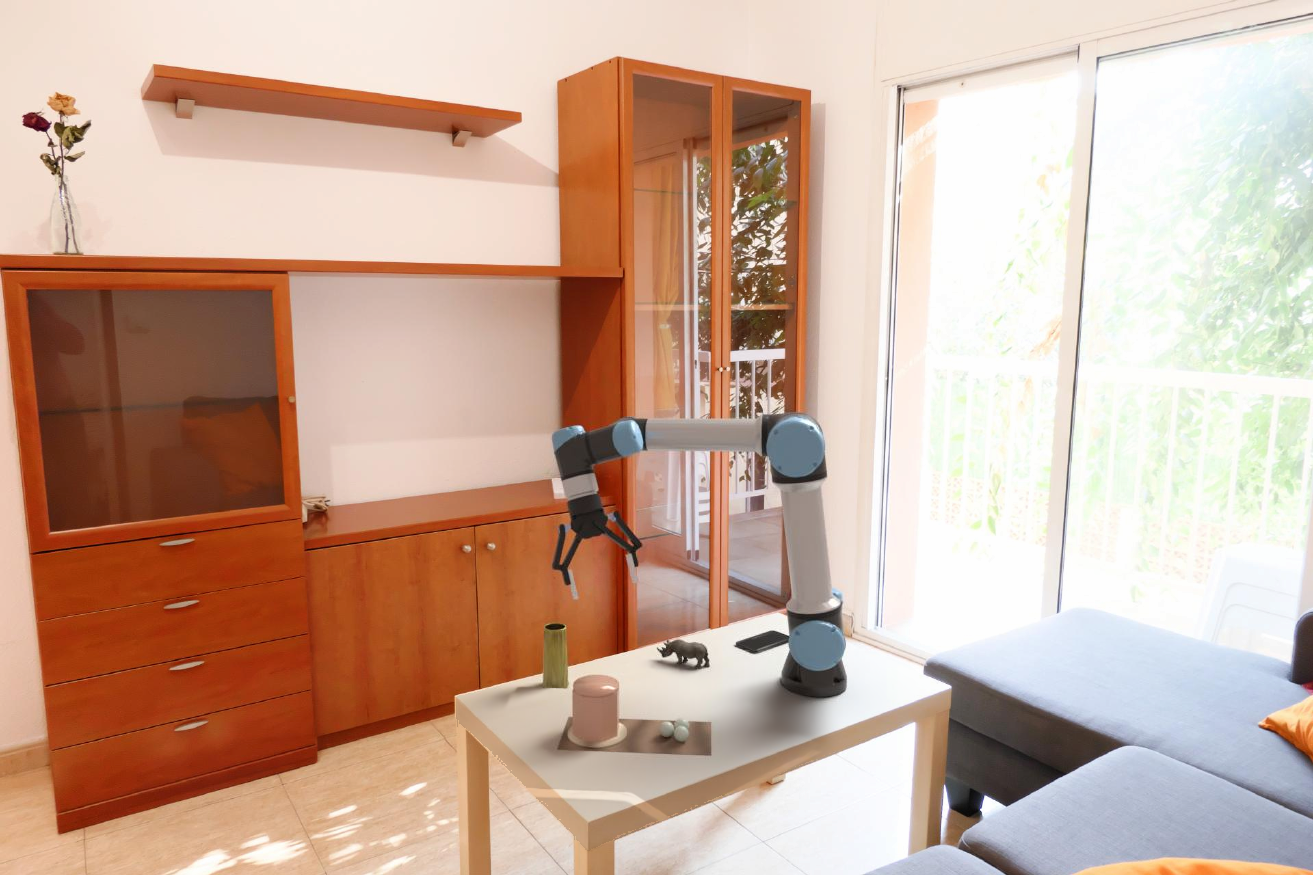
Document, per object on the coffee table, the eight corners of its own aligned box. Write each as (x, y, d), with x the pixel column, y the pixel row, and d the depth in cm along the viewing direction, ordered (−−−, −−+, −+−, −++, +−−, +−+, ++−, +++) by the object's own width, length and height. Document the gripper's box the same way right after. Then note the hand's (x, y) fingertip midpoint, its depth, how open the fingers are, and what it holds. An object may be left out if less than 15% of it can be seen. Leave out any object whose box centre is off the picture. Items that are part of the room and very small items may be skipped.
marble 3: (688, 737, 175) (689, 723, 174) (688, 744, 172) (688, 730, 172) (673, 737, 175) (674, 722, 175) (673, 744, 172) (673, 729, 172)
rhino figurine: (660, 655, 220) (660, 633, 219) (711, 664, 215) (712, 641, 214) (653, 661, 217) (654, 638, 216) (705, 670, 211) (706, 647, 210)
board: (711, 727, 182) (711, 721, 182) (711, 761, 168) (711, 755, 168) (568, 722, 184) (568, 716, 184) (557, 755, 170) (557, 749, 170)
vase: (547, 693, 198) (547, 632, 196) (538, 682, 203) (537, 624, 201) (572, 687, 201) (572, 628, 199) (562, 678, 206) (562, 620, 204)
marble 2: (689, 729, 178) (689, 715, 178) (688, 736, 175) (689, 722, 175) (674, 728, 179) (674, 715, 178) (674, 735, 176) (674, 721, 175)
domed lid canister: (600, 716, 183) (600, 670, 182) (628, 732, 176) (628, 684, 175) (564, 729, 177) (563, 682, 176) (591, 746, 170) (591, 697, 169)
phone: (794, 637, 231) (755, 651, 222) (794, 641, 231) (755, 655, 222) (772, 629, 237) (733, 642, 228) (772, 633, 237) (733, 646, 228)
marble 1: (674, 732, 177) (674, 719, 176) (673, 740, 174) (673, 725, 173) (659, 732, 177) (659, 718, 177) (658, 739, 174) (658, 725, 174)
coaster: (629, 721, 182) (629, 719, 182) (624, 749, 170) (624, 747, 170) (572, 718, 183) (572, 717, 182) (562, 746, 171) (563, 744, 171)
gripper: (632, 485, 199) (655, 576, 197) (525, 511, 192) (548, 605, 190) (640, 481, 192) (664, 576, 189) (529, 508, 185) (552, 606, 182)
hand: (606, 591), depth 190 cm, fingers open, 13 cm apart
